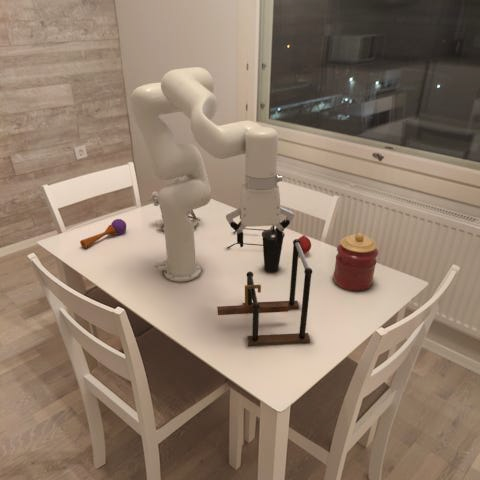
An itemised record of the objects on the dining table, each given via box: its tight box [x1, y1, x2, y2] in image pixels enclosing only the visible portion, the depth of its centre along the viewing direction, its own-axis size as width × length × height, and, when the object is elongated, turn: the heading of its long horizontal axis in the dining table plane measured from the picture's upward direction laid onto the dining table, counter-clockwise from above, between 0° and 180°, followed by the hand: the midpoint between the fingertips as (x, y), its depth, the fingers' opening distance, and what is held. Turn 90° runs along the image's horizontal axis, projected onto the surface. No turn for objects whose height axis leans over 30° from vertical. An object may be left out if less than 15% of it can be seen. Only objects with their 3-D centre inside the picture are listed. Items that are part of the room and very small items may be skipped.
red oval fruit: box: [297, 234, 312, 255], centre depth 163 cm, size 6×6×8 cm
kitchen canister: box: [332, 232, 379, 292], centre depth 144 cm, size 13×13×18 cm
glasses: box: [226, 226, 272, 249], centre depth 172 cm, size 14×16×5 cm
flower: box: [147, 176, 200, 232], centre depth 180 cm, size 20×22×25 cm
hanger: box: [216, 284, 289, 316], centre depth 124 cm, size 20×2×9 cm, turn 95°
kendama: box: [79, 218, 127, 249], centre depth 174 cm, size 6×6×20 cm
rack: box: [241, 238, 313, 347], centre depth 123 cm, size 17×19×23 cm
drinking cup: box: [261, 225, 286, 274], centre depth 150 cm, size 8×8×20 cm
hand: (259, 244), depth 117 cm, fingers open, 9 cm apart
